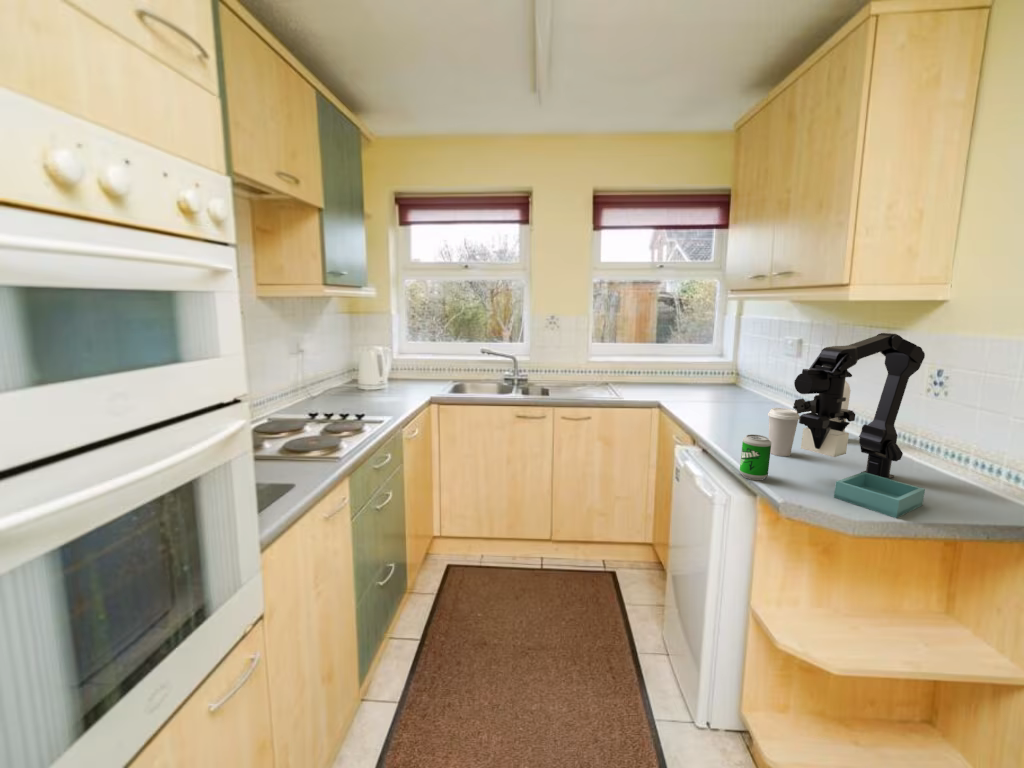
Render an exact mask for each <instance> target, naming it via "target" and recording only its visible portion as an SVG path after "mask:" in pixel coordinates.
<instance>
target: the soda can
mask: <svg viewBox="0 0 1024 768" xmlns="http://www.w3.org/2000/svg"><path fill="white" fill-rule="evenodd" d="M770 452H771V441H770V440H769V437H767V436H765V435H760V434H747V435H746V436H745V437H742V444H741V453H740V463H739V473H740V474H741V475H742V476H743V478H745V479H748V480H752V481H763V480H764V479H766V478H767V477H768V476H769V470H770V469H769V468H770V458H771V454H770ZM762 479H763V480H762Z"/></svg>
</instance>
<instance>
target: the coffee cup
mask: <svg viewBox="0 0 1024 768" xmlns="http://www.w3.org/2000/svg"><path fill="white" fill-rule="evenodd" d="M767 416H768V418H769V419H768V438H769V440H770V441H771V452H770V453H771V454H770V455H774V456H777V457H790V456H791V453H792V448H793V444H794V440H795V435H796V432H797V427H798V423H799V418H800V416H801V415H800V413H798V414H797V411H796V410H795V409H793V408H792V409H791V408H784V407H772V408H771V409H770V411H768V413H767Z"/></svg>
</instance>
